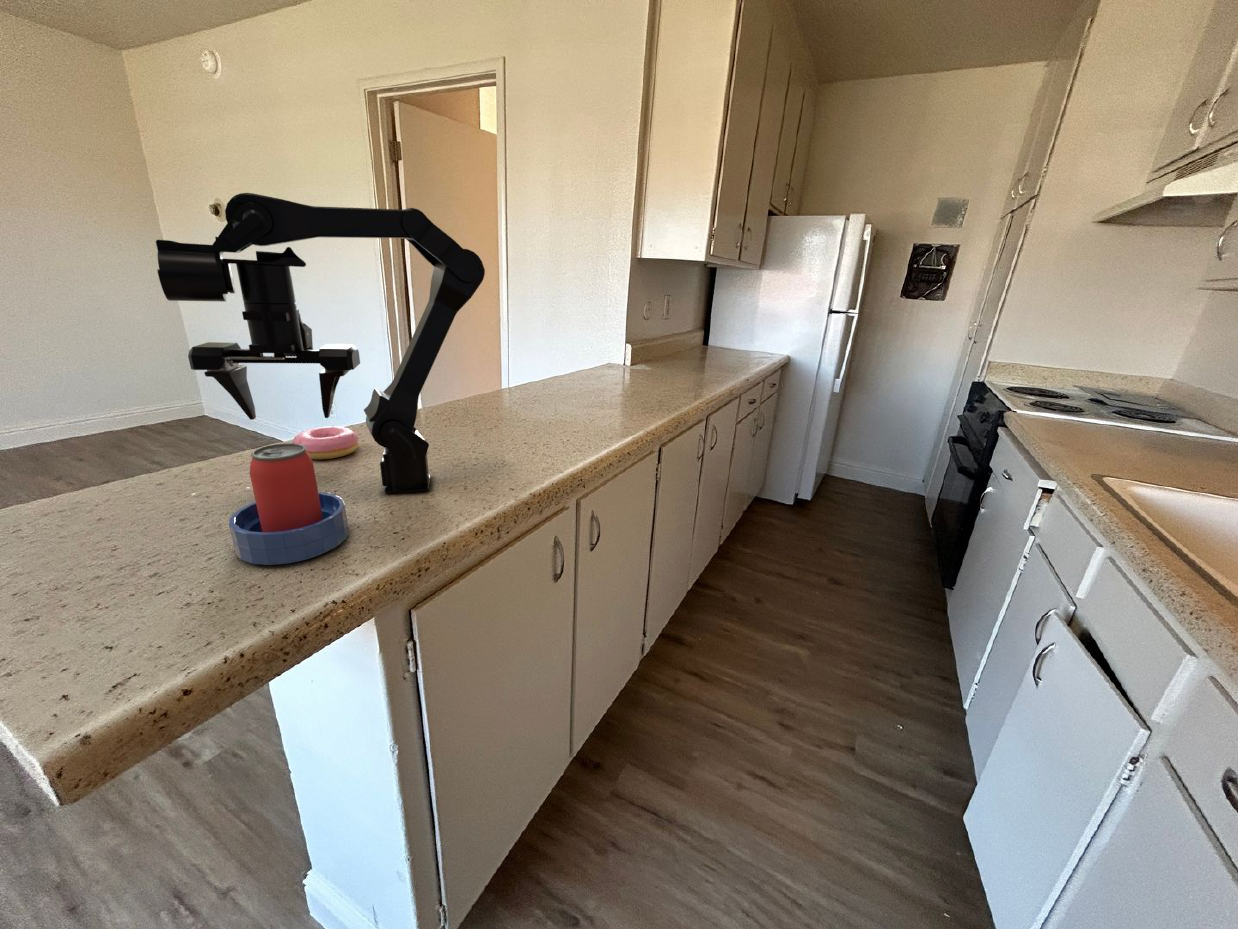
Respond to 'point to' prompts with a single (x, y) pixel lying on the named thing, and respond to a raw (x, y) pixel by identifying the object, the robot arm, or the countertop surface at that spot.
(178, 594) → the countertop surface
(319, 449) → the doughnut
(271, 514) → the beer can
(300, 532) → the bowl
